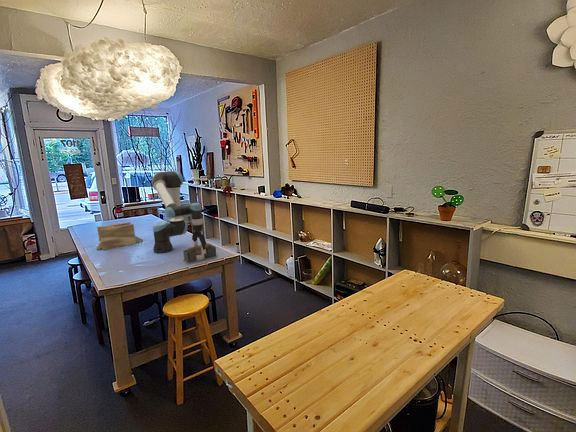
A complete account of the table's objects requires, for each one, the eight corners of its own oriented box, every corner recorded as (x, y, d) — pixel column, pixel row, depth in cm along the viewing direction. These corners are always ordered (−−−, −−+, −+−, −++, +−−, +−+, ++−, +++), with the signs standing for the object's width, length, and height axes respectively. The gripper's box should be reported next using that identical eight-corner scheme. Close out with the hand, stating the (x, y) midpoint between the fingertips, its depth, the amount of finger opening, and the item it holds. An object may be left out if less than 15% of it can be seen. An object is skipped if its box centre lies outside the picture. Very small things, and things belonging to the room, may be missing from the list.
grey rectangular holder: (183, 260, 228) (182, 250, 227) (211, 253, 243) (210, 244, 241) (188, 264, 221) (187, 253, 219) (217, 256, 235) (216, 246, 233)
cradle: (100, 246, 271) (97, 226, 267) (132, 240, 287) (129, 222, 283) (103, 250, 260) (99, 229, 256) (136, 243, 276) (133, 224, 273)
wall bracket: (130, 261, 279) (96, 249, 260) (129, 260, 282) (96, 248, 263) (143, 239, 283) (110, 225, 264) (142, 238, 286) (109, 225, 268)
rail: (188, 255, 227) (187, 248, 226) (209, 250, 238) (208, 243, 236) (190, 257, 224) (189, 249, 223) (211, 251, 235) (211, 244, 233)
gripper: (186, 222, 233) (188, 248, 238) (199, 227, 214) (202, 256, 219) (195, 220, 238) (197, 246, 242) (209, 226, 219) (211, 254, 224)
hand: (199, 251), depth 231 cm, fingers open, 13 cm apart
